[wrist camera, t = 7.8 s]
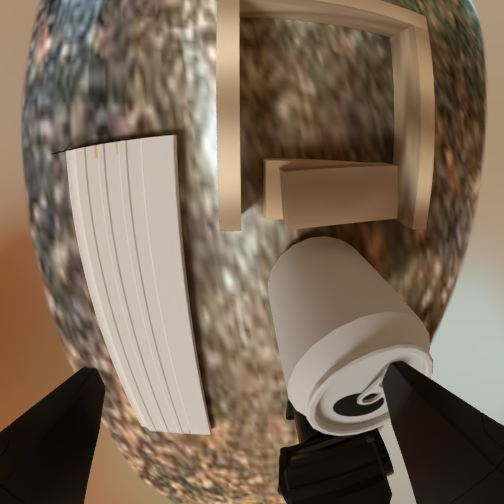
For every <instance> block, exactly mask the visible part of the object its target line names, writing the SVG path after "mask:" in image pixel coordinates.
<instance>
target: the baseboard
mask: <svg viewBox="0 0 504 504" xmlns="http://www.w3.org/2000/svg"><path fill="white" fill-rule="evenodd" d="M166 135H169V136H165V135H158V137H155V136H148V137H149V138H146V137H140V138H141V139H138V138H132V139H133V140H130V139H125V140H126V141H123V140H120V139H119V140H111V141H105V142H100V143H94V144H90V145H88V146H89V147H87V146H83V148H81V147H78V149H76V148H73V149H74V150H72V149H68V150H70V151H67V150H64V151H59V152H65V151H66V157H67V170H68V180H69V189H70V197H71V205H72V211H73V218H74V224H75V230H76V235H77V240H78V245H79V250H80V255H81V259H82V264H83V268H84V272H85V276H86V280H87V284H88V288H89V292H90V295H91V299H92V302H93V306H94V309H95V312H96V316H97V319H98V322H99V325H100V328H101V331H102V334H103V337H104V340H105V343H106V345H107V348H108V351H109V354H110V356H111V359H112V362H113V364H114V367H115V369H116V372H117V374H118V376H119V379H120V381H121V384H122V386H123V388H124V390H125V393H126V395H127V397H128V399H129V402H130V404H131V406H132V408H133V410H134V412H135V414H136V416H137V418H138V420H139V422H140V424H141V426H145V427H147V428H148V429H149V430H150V431H163V432H168V433H169V432H175V433H182V434H183V433H191V434H204V435H211V426H210V421H209V416H208V411H207V406H206V401H205V396H204V391H203V385H202V380H201V374H200V368H199V362H198V356H197V350H196V343H195V337H194V330H193V323H192V316H191V309H190V301H189V293H188V285H187V276H186V267H185V257H184V247H183V236H182V224H181V211H180V197H179V180H178V159H177V135H172V134H166ZM116 141H119V142H116ZM110 142H112V143H110ZM104 143H106V144H104ZM98 144H100V145H98ZM92 145H94V146H92ZM59 152H56V153H59ZM56 153H52V154H56Z"/></svg>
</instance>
